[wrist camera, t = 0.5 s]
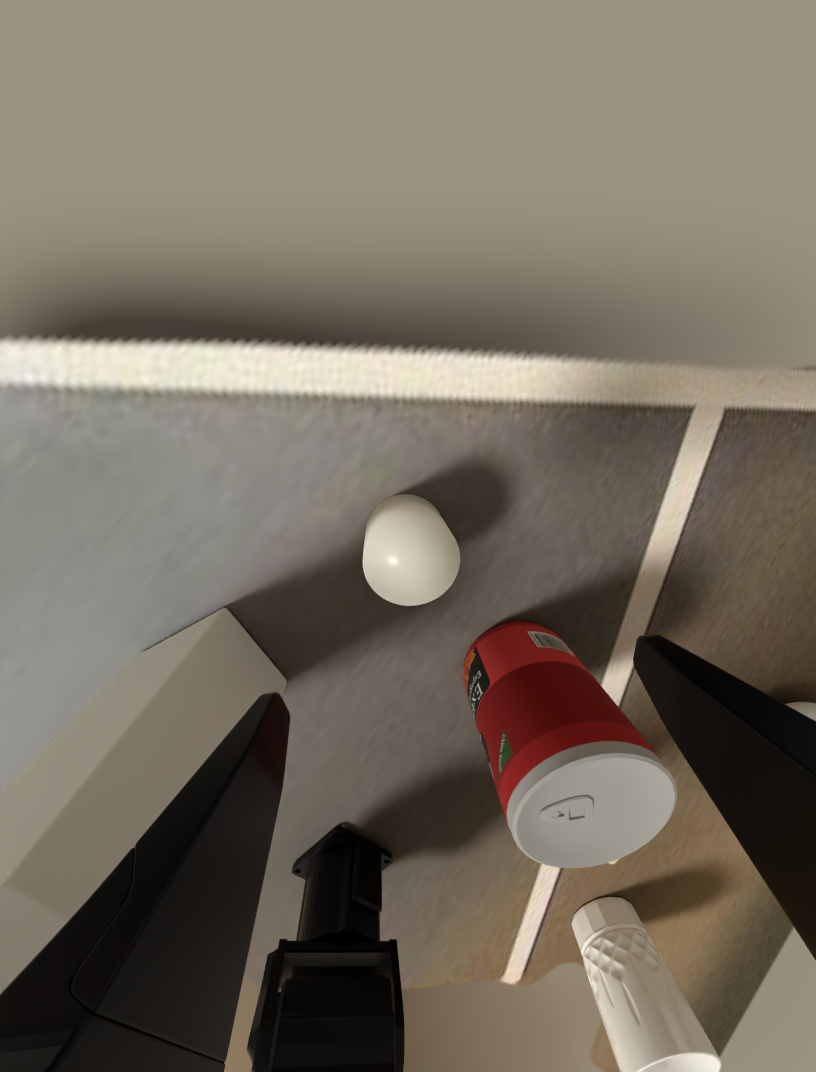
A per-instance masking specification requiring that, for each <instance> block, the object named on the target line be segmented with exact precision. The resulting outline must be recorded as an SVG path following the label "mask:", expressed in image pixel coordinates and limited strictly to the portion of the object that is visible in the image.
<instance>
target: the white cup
mask: <svg viewBox="0 0 816 1072" xmlns="http://www.w3.org/2000/svg"><path fill="white" fill-rule="evenodd" d="M572 928H573V930H574V933H575V936H576V939H577V942H578V945H579V948H580V950H581V954H582V956H583V960H584V966H585V969H586V971H587V974H588V978H589V981H590V984H591V988H592V991H593V994H594V997H595V1000H596V1002H597V1005H598V1008H599V1011H600V1014H601V1017H602V1020H603V1023H604V1026H605V1029H606V1032H607V1035H608V1038H609V1041H610V1043H611V1046H612V1049H613V1052H614V1055H615V1058H616V1061H617V1064H618V1067H619V1070H620V1072H719V1071H720V1069H721V1060H720V1058H719V1056H718V1055H717V1053H716V1051H715V1049H714V1048H713V1046H712V1044H711V1042H710V1041H709V1039H708V1037H707V1035H706V1033H705V1032H704V1030H703V1028H702V1026H701V1024H700V1023H699V1021H698V1019H697V1017H696V1015H695V1014H694V1012H693V1010H692V1008H691V1006H690V1005H689V1003H688V1001H687V999H686V997H685V996H684V994H683V992H682V990H681V988H680V987H679V985H678V983H677V981H676V980H675V978H674V976H673V975H672V973H671V971H670V970H669V968H668V966H667V964H666V963H665V961H664V959H663V957H662V956H661V954H660V952H659V950H658V949H657V947H656V945H655V943H654V942H653V941H652V939H651V938H650V937H649V935H648V933H647V931H646V930H645V928H644V926H643V924H642V922H641V921H640V919H639V917H638V915H637V913H636V911H635V910H634V908H633V906H632V904H631V903H630V902H628V901H626V900H625V899H623V898H619V897H605V898H600V899H596V900H593V901H591V902H589V903H587V904H585V905H584V906H582V907H581V908H580V909H579V910H578V911H577V912H576V913H575V914H574V917H573V920H572Z"/></svg>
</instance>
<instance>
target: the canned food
mask: <svg viewBox="0 0 816 1072" xmlns="http://www.w3.org/2000/svg"><path fill="white" fill-rule="evenodd" d="M463 682H464V687H465V690H466V693H467V696H468V699H469V703H470V706H471V709H472V712H473V716H474V719H475V722H476V725H477V728H478V732H479V735H480V738H481V741H482V745H483V748H484V751H485V754H486V757H487V761H488V764H489V767H490V770H491V773H492V777H493V780H494V783H495V786H496V790H497V793H498V796H499V799H500V802H501V805H502V807H503V810H504V814H505V817H506V820H507V823H508V826H509V828H510V830H511V832H512V834H513V837H514V839H515V842H516V844H517V846H518V847H519V848H520V849H521V850H522V852H523V853H524V854H525V855H527V856H528V857H530V858H531V859H533V860H535V861H537V862H539V863H542V864H545V865H548V866H554V867H559V868H582V867H591V866H596V865H601V864H605V863H608V862H611V861H614V860H617V859H620V858H622V857H624V856H626V855H628V854H630V853H632V852H634V851H635V850H637V849H639V848H640V847H642V846H643V845H645V844H646V843H647V842H649V841H650V840H651V839H652V838H653V837H654V836H656V835H657V834H658V833H659V832H660V830H661V829H662V828H663V827H664V826H665V825H666V823H667V822H668V820H669V818H670V817H671V815H672V813H673V811H674V808H675V805H676V801H677V788H676V784H675V781H674V779H673V777H672V776H671V774H670V772H669V771H668V770H667V768H666V767H665V765H664V764H663V762H662V760H661V759H660V758H659V757H658V755H657V754H656V753H655V752H654V750H653V749H652V748H651V747H650V746H649V744H648V743H647V741H646V740H645V739H644V738H643V736H642V735H641V734H640V733H639V731H638V730H637V729H636V728H635V727H634V725H633V724H632V723H631V722H630V721H629V719H628V718H627V717H626V716H625V715H624V713H623V712H622V711H621V710H620V709H619V707H618V706H617V705H616V704H615V702H614V701H613V700H612V699H611V698H610V696H609V695H608V694H607V693H606V692H605V690H604V689H603V688H602V687H601V686H600V684H599V683H598V682H597V681H596V680H595V678H594V677H593V676H592V675H591V674H590V672H589V671H588V670H587V669H586V667H585V666H584V665H583V664H582V663H581V661H580V660H579V659H578V658H577V657H576V655H575V654H574V653H573V652H572V651H571V649H570V648H569V647H568V646H567V645H566V643H565V642H564V641H563V640H562V639H561V638H560V637H559V636H558V635H557V634H555V633H554V632H552V631H550V630H549V629H547V628H545V627H543V626H541V625H538V624H535V623H531V622H523V621H522V622H510V623H505V624H502V625H499V626H497V627H494V628H492V629H490V630H489V631H487V632H485V633H484V634H483V635H481V636H480V637H479V638H478V639H477V640H476V641H475V642H474V643H473V644H472V646H471V647H470V649H469V651H468V652H467V654H466V657H465V661H464V668H463Z"/></svg>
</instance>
